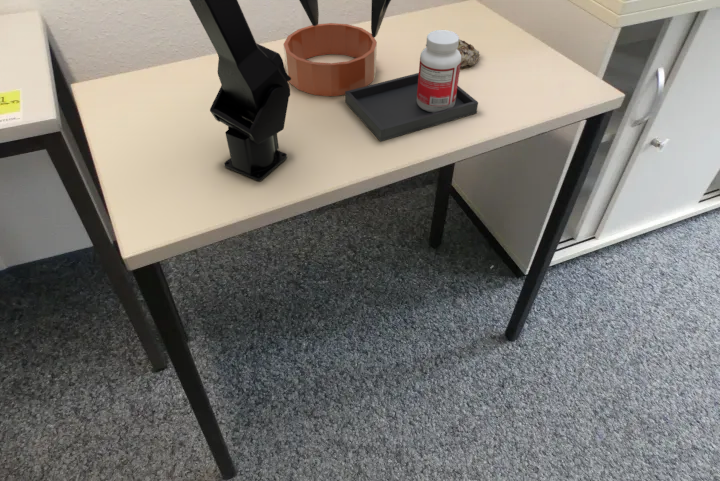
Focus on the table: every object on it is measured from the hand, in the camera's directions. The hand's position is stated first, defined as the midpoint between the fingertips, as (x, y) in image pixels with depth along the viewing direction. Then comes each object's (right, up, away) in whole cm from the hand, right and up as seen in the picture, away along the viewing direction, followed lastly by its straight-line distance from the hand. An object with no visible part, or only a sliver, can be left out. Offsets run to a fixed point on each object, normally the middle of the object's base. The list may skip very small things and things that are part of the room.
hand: (344, 30), depth 75 cm
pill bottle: (+14, -8, +9) cm, 19 cm away
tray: (+10, -9, +9) cm, 16 cm away
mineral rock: (+20, +4, +22) cm, 30 cm away
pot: (-3, -1, +17) cm, 17 cm away
